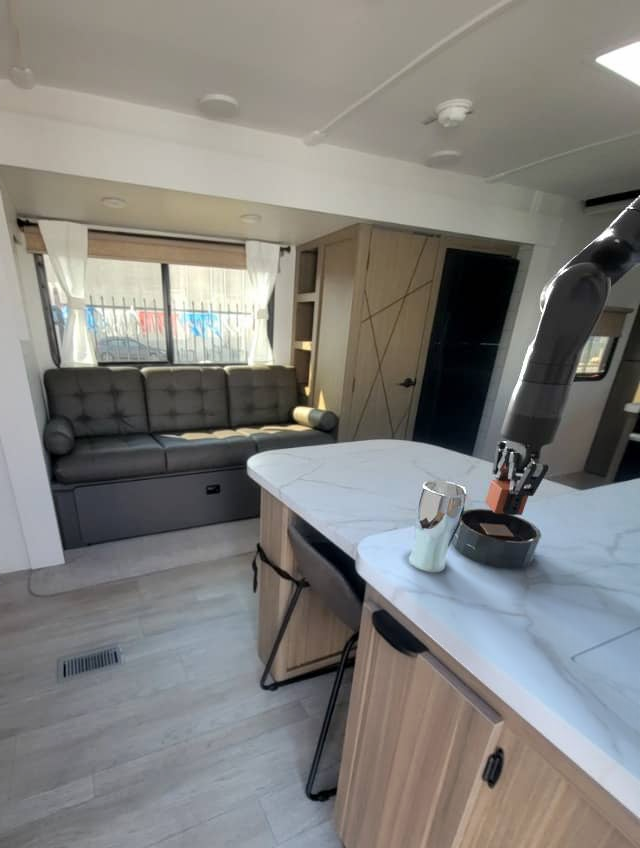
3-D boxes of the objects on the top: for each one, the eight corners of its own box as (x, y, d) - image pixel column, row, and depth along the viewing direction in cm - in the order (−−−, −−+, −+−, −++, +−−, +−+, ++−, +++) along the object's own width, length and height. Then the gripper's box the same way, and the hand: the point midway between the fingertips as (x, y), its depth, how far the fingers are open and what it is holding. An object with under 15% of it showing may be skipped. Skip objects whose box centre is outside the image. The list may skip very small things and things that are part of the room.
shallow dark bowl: (511, 538, 81) (520, 511, 78) (543, 576, 69) (556, 546, 67) (442, 532, 83) (449, 506, 80) (463, 568, 71) (471, 539, 68)
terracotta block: (510, 504, 74) (518, 481, 72) (521, 515, 70) (530, 491, 68) (484, 502, 74) (491, 479, 72) (494, 513, 70) (501, 489, 68)
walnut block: (497, 545, 78) (504, 524, 76) (507, 558, 73) (515, 536, 72) (473, 543, 78) (479, 522, 76) (481, 555, 74) (488, 534, 72)
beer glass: (411, 551, 76) (428, 476, 69) (451, 564, 72) (472, 486, 66) (399, 568, 71) (416, 489, 64) (441, 582, 67) (464, 500, 60)
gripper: (586, 422, 58) (545, 528, 65) (538, 403, 70) (509, 493, 78) (530, 419, 58) (496, 524, 66) (492, 401, 71) (468, 490, 79)
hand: (503, 507), depth 72 cm, fingers closed on terracotta block, 4 cm apart
